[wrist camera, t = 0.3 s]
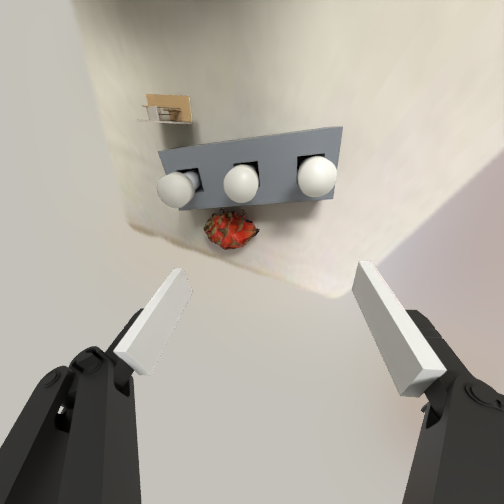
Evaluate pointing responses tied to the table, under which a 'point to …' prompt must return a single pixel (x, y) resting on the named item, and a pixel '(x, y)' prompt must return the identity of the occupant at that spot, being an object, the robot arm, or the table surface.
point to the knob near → (316, 176)
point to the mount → (269, 164)
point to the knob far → (178, 188)
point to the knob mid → (241, 183)
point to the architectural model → (177, 111)
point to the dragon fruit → (230, 230)
